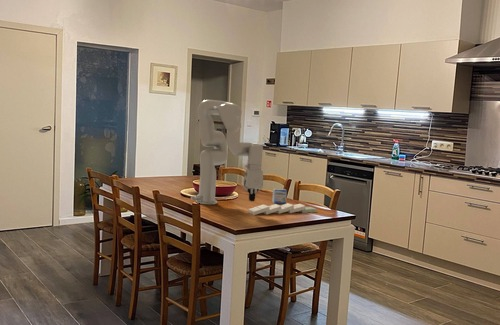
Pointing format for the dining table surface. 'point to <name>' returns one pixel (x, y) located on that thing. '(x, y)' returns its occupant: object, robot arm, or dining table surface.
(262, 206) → the domino
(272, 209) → the domino
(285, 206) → the domino
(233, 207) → the dining table surface
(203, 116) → the robot arm
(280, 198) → the medicine box
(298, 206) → the domino
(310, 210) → the domino
